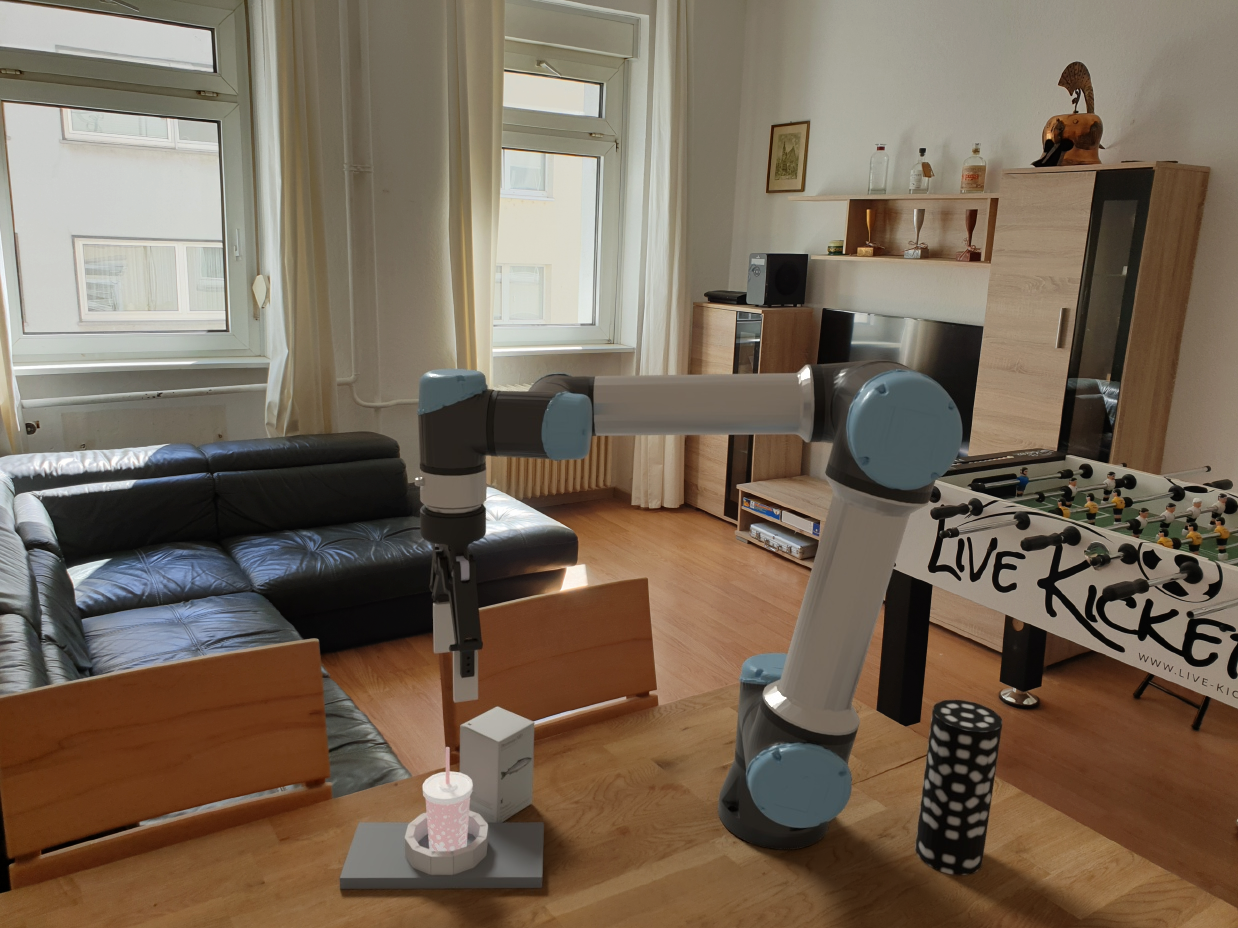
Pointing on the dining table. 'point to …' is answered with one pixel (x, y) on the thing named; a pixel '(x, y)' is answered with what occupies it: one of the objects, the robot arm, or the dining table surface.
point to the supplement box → (498, 763)
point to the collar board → (445, 857)
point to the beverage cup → (447, 808)
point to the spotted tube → (958, 786)
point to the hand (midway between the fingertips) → (454, 674)
